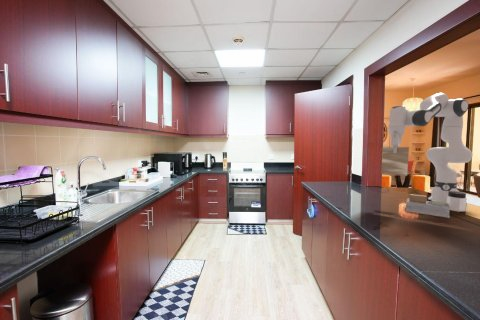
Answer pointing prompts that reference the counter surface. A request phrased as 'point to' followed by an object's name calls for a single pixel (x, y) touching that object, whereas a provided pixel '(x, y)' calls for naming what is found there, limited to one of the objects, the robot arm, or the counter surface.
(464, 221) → the counter surface
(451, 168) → the robot arm
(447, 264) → the counter surface
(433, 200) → the offcut short
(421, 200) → the offcut tall
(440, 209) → the rack
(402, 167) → the sheet
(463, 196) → the jar
